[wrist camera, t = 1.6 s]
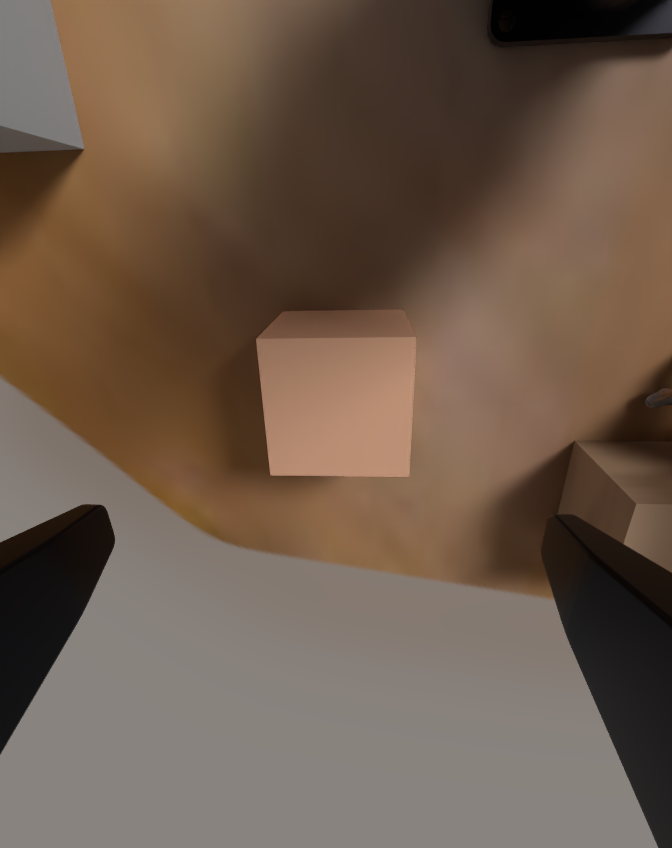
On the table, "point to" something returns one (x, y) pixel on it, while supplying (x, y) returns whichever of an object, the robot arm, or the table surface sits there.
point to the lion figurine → (660, 398)
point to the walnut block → (624, 493)
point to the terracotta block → (338, 392)
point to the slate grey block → (34, 81)
